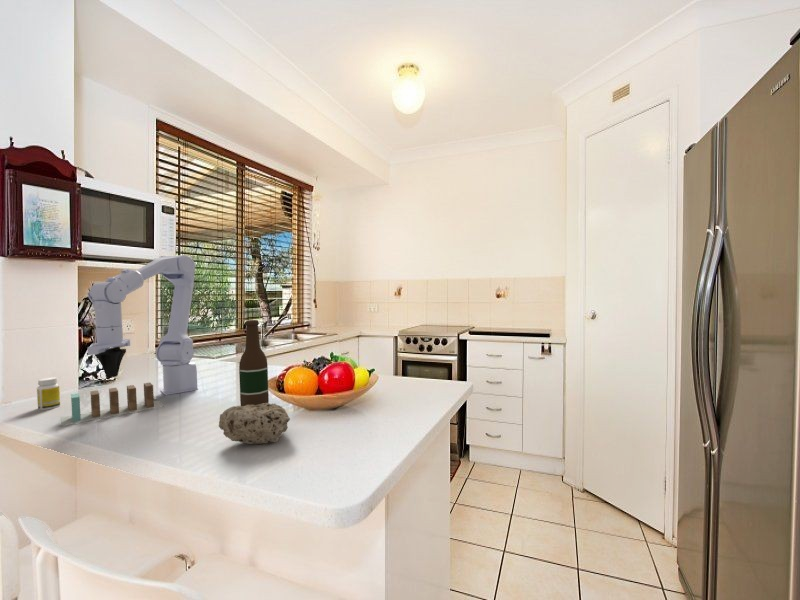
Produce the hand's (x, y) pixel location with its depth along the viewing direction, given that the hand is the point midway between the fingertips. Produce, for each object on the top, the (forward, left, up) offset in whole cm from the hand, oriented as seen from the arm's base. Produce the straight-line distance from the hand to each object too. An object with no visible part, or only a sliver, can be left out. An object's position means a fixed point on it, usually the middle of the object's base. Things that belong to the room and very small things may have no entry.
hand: (112, 376), depth 106 cm
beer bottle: (-30, +23, -10) cm, 39 cm away
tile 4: (+4, 0, -10) cm, 10 cm away
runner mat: (0, 0, -10) cm, 10 cm away
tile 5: (+8, 0, -10) cm, 12 cm away
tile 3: (0, 0, -10) cm, 10 cm away
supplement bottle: (+13, -19, -10) cm, 25 cm away
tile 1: (-8, 0, -10) cm, 13 cm away
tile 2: (-4, 0, -10) cm, 10 cm away
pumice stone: (-21, +47, -10) cm, 52 cm away
